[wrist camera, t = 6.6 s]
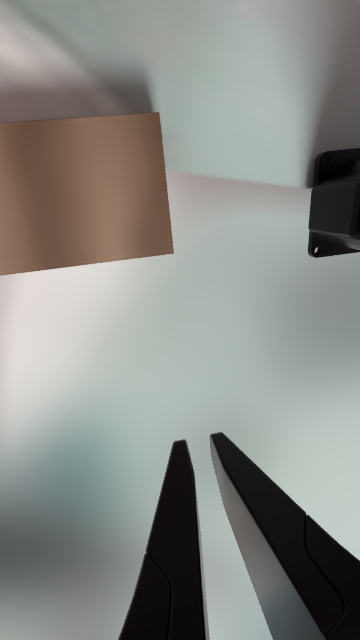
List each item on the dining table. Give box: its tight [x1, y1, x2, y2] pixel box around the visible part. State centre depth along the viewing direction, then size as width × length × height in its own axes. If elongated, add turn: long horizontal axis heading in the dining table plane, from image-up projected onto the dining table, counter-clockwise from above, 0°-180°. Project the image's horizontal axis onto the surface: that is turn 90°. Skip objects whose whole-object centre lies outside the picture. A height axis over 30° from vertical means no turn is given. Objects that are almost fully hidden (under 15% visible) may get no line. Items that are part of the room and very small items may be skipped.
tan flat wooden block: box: [0, 112, 174, 275], centre depth 15 cm, size 12×7×2 cm, turn 95°
